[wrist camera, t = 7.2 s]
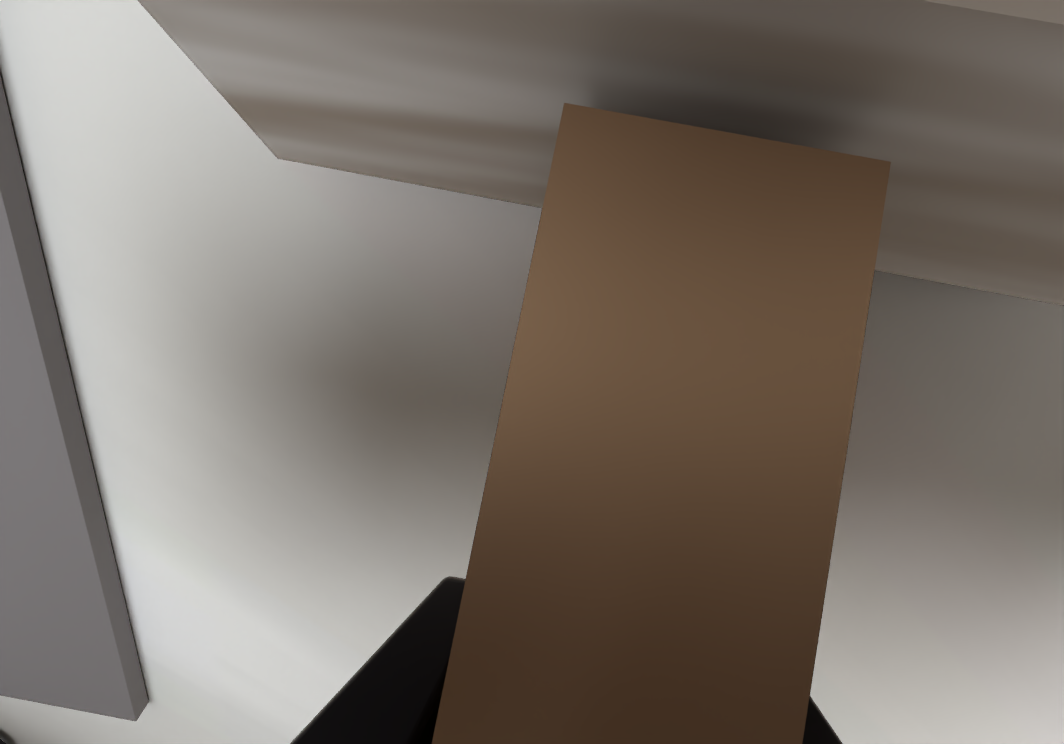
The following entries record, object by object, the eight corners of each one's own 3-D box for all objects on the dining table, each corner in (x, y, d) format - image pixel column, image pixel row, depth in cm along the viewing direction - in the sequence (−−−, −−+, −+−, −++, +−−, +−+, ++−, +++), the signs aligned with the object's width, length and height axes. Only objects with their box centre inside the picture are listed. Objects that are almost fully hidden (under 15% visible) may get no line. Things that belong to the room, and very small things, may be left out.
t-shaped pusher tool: (972, 1079, 10) (1597, 1983, 4) (98, 873, 11) (-488, 1406, 5) (1078, 208, 11) (1661, -73, 5) (300, 67, 12) (51, -329, 6)
